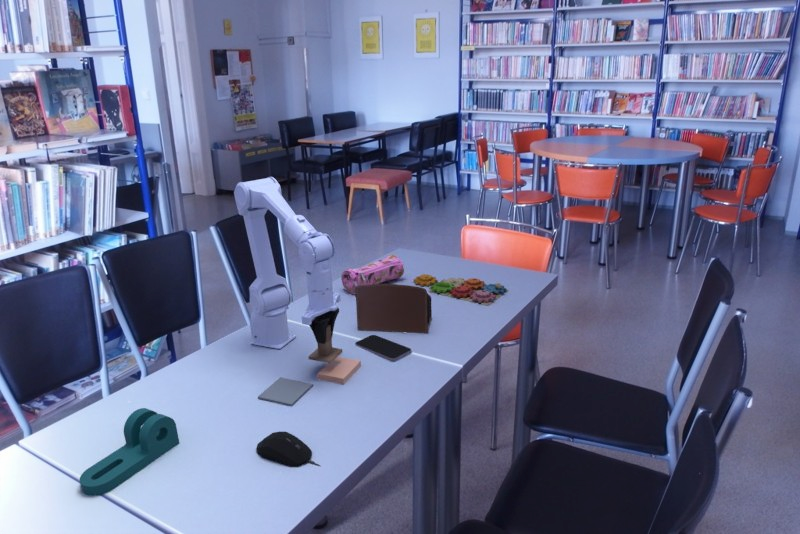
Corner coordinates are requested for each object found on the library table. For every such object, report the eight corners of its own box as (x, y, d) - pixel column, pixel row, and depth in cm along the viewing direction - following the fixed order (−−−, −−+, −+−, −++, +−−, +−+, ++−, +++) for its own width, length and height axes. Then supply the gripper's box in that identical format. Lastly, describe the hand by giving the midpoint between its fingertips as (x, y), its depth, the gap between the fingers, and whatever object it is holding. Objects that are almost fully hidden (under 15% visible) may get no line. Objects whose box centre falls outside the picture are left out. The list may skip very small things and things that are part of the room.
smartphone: (373, 333, 159) (413, 349, 149) (373, 337, 159) (413, 353, 149) (353, 343, 154) (393, 359, 144) (353, 347, 155) (393, 363, 144)
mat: (257, 398, 131) (257, 396, 131) (280, 379, 139) (280, 377, 138) (291, 406, 127) (291, 404, 127) (313, 385, 135) (312, 383, 135)
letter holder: (427, 334, 159) (426, 286, 154) (357, 331, 162) (354, 284, 157) (432, 319, 168) (431, 273, 163) (365, 316, 171) (362, 271, 167)
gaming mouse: (311, 478, 106) (309, 460, 105) (250, 454, 113) (247, 437, 112) (331, 458, 111) (329, 440, 110) (272, 436, 118) (269, 420, 117)
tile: (317, 373, 138) (343, 378, 135) (335, 356, 145) (360, 360, 143) (317, 380, 138) (344, 386, 136) (336, 363, 146) (361, 367, 143)
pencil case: (357, 299, 184) (355, 272, 181) (339, 291, 190) (338, 266, 187) (407, 281, 197) (406, 256, 194) (389, 274, 204) (388, 250, 201)
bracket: (157, 434, 120) (150, 401, 117) (179, 444, 116) (173, 410, 114) (74, 489, 105) (64, 453, 102) (97, 501, 102) (87, 464, 99)
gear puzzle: (403, 288, 192) (403, 277, 190) (430, 273, 204) (430, 262, 203) (488, 308, 175) (488, 296, 173) (511, 291, 187) (512, 279, 185)
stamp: (308, 359, 139) (305, 329, 136) (321, 348, 144) (318, 319, 142) (330, 363, 137) (328, 333, 134) (342, 352, 142) (340, 323, 139)
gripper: (319, 301, 127) (323, 356, 131) (349, 278, 139) (353, 329, 144) (291, 297, 129) (297, 351, 134) (324, 275, 142) (328, 325, 147)
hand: (324, 339), depth 139 cm, fingers closed on stamp, 2 cm apart
